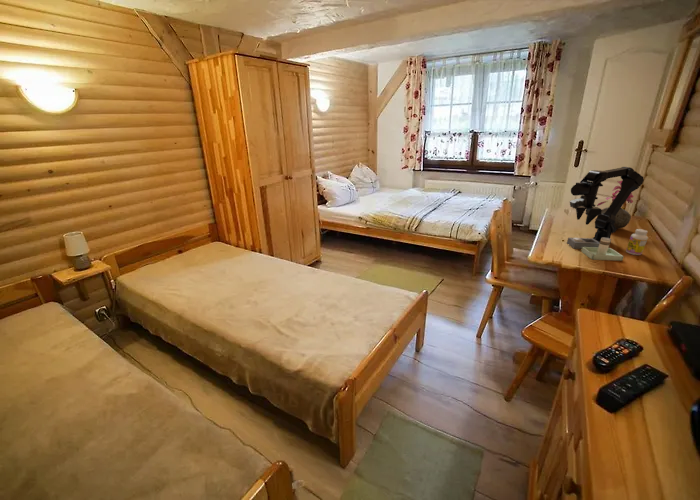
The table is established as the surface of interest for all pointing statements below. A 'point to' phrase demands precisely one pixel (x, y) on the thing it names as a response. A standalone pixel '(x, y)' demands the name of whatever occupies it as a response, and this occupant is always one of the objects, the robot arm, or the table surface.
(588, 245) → the block
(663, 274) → the table surface
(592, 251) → the parts tray
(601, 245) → the cylinder
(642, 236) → the supplement bottle
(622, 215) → the vase
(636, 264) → the table surface
